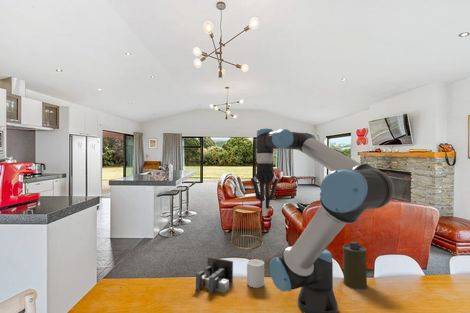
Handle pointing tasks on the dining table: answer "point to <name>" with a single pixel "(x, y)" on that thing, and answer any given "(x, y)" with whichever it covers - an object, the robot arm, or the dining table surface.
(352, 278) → the canister
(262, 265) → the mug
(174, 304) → the dining table surface
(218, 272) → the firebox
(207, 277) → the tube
